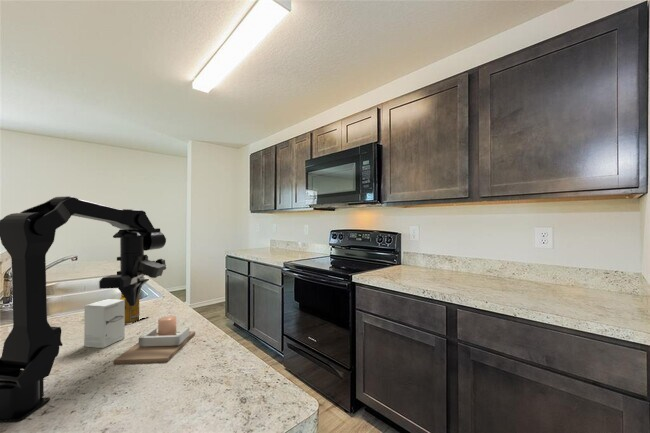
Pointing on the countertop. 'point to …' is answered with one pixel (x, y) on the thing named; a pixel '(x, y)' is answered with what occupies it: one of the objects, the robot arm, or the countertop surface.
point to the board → (151, 353)
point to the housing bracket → (162, 338)
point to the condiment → (131, 311)
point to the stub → (167, 326)
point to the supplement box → (104, 323)
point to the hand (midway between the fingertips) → (132, 305)
